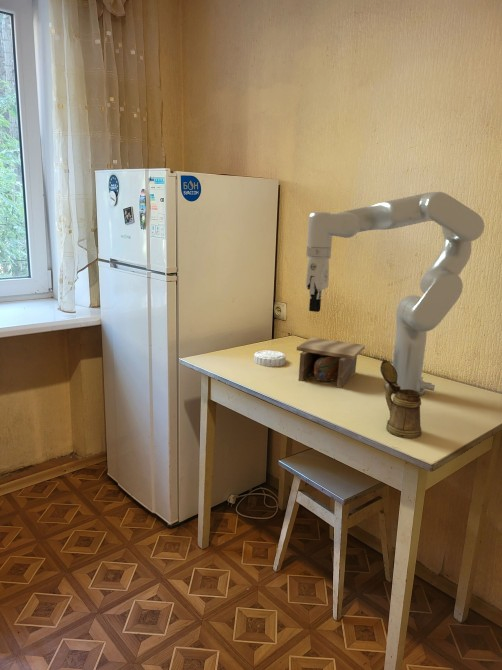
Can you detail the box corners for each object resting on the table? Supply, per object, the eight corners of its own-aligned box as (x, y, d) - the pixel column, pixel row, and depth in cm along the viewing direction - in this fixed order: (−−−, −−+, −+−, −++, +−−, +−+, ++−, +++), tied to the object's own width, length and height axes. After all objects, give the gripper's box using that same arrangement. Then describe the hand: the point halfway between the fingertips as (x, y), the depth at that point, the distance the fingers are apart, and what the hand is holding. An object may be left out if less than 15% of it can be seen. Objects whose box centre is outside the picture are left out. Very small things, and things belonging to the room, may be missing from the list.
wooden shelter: (362, 373, 186) (365, 345, 183) (348, 389, 169) (351, 358, 166) (309, 364, 194) (311, 337, 191) (291, 378, 177) (293, 348, 174)
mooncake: (289, 361, 199) (290, 352, 198) (278, 369, 188) (279, 359, 187) (261, 356, 203) (261, 347, 202) (248, 364, 192) (249, 354, 192)
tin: (318, 383, 172) (319, 359, 171) (311, 381, 175) (312, 357, 173) (348, 376, 182) (349, 353, 180) (341, 374, 184) (342, 351, 182)
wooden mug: (385, 416, 147) (392, 356, 143) (427, 433, 137) (436, 369, 133) (366, 423, 142) (372, 361, 138) (408, 441, 132) (417, 375, 128)
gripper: (324, 255, 150) (319, 316, 155) (336, 252, 164) (331, 308, 168) (299, 253, 153) (296, 313, 158) (313, 250, 167) (309, 306, 171)
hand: (314, 310), depth 163 cm, fingers closed
